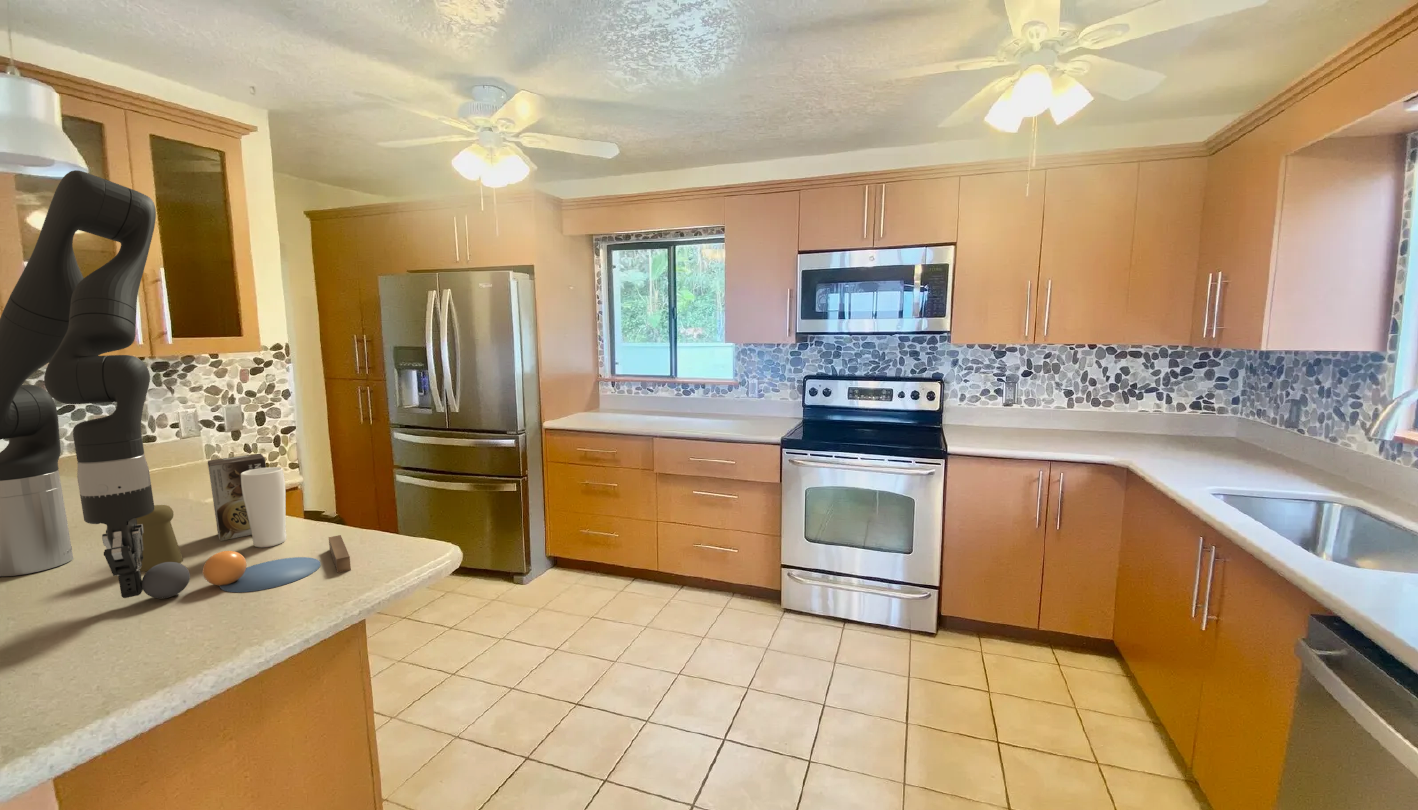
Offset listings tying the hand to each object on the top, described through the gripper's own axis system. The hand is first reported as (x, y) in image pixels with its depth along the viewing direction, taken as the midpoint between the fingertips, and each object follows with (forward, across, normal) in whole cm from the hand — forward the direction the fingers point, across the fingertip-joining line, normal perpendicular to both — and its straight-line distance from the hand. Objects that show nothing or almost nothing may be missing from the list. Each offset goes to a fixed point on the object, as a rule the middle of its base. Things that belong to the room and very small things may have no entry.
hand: (132, 594), depth 88 cm
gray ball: (-1, 0, -4) cm, 4 cm away
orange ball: (-1, 0, -11) cm, 11 cm away
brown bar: (+2, 0, -27) cm, 27 cm away
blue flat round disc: (+2, 0, -17) cm, 17 cm away
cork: (+2, +19, -1) cm, 19 cm away
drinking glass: (+2, +19, -17) cm, 26 cm away
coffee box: (+2, +31, -13) cm, 34 cm away
